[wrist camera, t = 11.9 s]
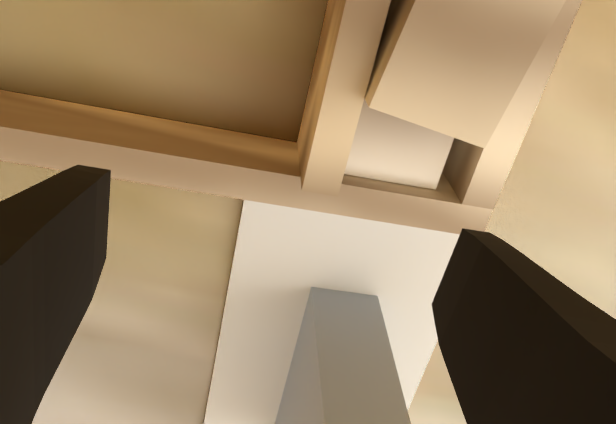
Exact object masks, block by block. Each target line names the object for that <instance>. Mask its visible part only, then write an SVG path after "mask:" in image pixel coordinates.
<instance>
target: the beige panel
mask: <svg viewBox="0 0 616 424" xmlns="http://www.w3.org/2000/svg"><path fill="white" fill-rule="evenodd" d="M459 235H460V234H454V233H448V232H442V231H436V230H429V229H423V228H417V227H411V226H404V225H398V224H392V223H386V222H379V221H373V220H367V219H361V218H354V217H348V216H342V215H336V214H329V213H323V212H317V211H311V210H304V209H298V208H292V207H286V206H279V205H273V204H267V203H261V202H254V201H248V200H244V201H243V207H242V212H241V218H240V223H239V229H238V235H237V240H236V246H235V251H234V257H233V262H232V268H231V274H230V279H229V285H228V290H227V296H226V301H225V307H224V312H223V318H222V324H221V329H220V335H219V340H218V346H217V351H216V357H215V362H214V368H213V374H212V379H211V385H210V390H209V396H208V401H207V407H206V413H205V418H204V424H275V421H276V417H277V413H278V410H279V406H280V402H281V398H282V395H283V391H284V387H285V383H286V380H287V376H288V372H289V368H290V365H291V361H292V357H293V353H294V350H295V346H296V342H297V338H298V335H299V331H300V327H301V323H302V320H303V316H304V312H305V308H306V305H307V301H308V297H309V293H310V290H311V287H317V288H324V289H331V290H339V291H346V292H353V293H360V294H367V295H375V296H378V299H379V303H380V307H381V311H382V315H383V318H384V322H385V326H386V330H387V334H388V338H389V342H390V345H391V349H392V353H393V357H394V361H395V365H396V369H397V372H398V376H399V380H400V384H401V388H402V392H403V396H404V399H405V403H406V407H407V411H408V409H409V407H410V404H411V402H412V400H413V397H414V395H415V392H416V390H417V388H418V385H419V383H420V381H421V378H422V376H423V374H424V371H425V369H426V366H427V364H428V362H429V359H430V357H431V355H432V352H433V350H434V348H435V345H436V343H437V340H438V337H437V332H436V327H435V322H434V316H433V310H432V302H433V299H434V297H435V294H436V292H437V289H438V287H439V285H440V282H441V280H442V277H443V275H444V272H445V270H446V267H447V265H448V262H449V260H450V257H451V255H452V253H453V250H454V248H455V245H456V243H457V240H458V238H459Z"/></svg>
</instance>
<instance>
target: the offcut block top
mask: <svg viewBox="0 0 616 424" xmlns="http://www.w3.org/2000/svg"><path fill="white" fill-rule="evenodd" d="M565 1H566V0H391V2H390V5H389V9H388V13H387V17H386V20H385V24H384V28H383V31H382V35H381V39H380V42H379V46H378V50H377V54H376V57H375V61H374V65H373V68H372V72H371V76H370V80H369V83H368V87H367V91H366V94H365V98H364V99H365V101H366V103H367V105H368V107H369V108H372V109H375V110H377V111H380V112H383V113H386V114H389V115H392V116H394V117H397V118H400V119H403V120H406V121H408V122H411V123H414V124H417V125H420V126H423V127H425V128H428V129H431V130H434V131H437V132H439V133H442V134H445V135H448V136H451V137H454V138H456V139H459V140H462V141H465V142H468V143H470V144H473V145H476V146H479V147H482V148H485V147H486V145H487V143H488V141H489V140H490V138H491V136H492V134H493V132H494V131H495V129H496V127H497V125H498V123H499V121H500V120H501V118H502V116H503V114H504V112H505V110H506V109H507V107H508V105H509V103H510V101H511V100H512V98H513V96H514V94H515V92H516V90H517V89H518V87H519V85H520V83H521V81H522V80H523V78H524V76H525V74H526V72H527V70H528V69H529V67H530V65H531V63H532V61H533V59H534V58H535V56H536V54H537V52H538V50H539V49H540V47H541V45H542V43H543V41H544V39H545V38H546V36H547V34H548V32H549V30H550V28H551V27H552V25H553V23H554V21H555V19H556V18H557V16H558V14H559V12H560V10H561V8H562V7H563V5H564V3H565Z"/></svg>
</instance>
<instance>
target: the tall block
mask: <svg viewBox="0 0 616 424" xmlns="http://www.w3.org/2000/svg"><path fill="white" fill-rule="evenodd" d="M275 424H411V423H410V419H409V415H408V411H407V407H406V403H405V399H404V396H403V392H402V388H401V384H400V380H399V376H398V372H397V369H396V365H395V361H394V357H393V353H392V349H391V345H390V342H389V338H388V334H387V330H386V326H385V322H384V318H383V315H382V311H381V307H380V303H379V299H378V296H375V295H367V294H360V293H353V292H346V291H339V290H331V289H324V288H317V287H311V290H310V293H309V297H308V301H307V305H306V308H305V312H304V316H303V320H302V323H301V327H300V331H299V335H298V338H297V342H296V346H295V350H294V353H293V357H292V361H291V365H290V368H289V372H288V376H287V380H286V383H285V387H284V391H283V395H282V398H281V402H280V406H279V410H278V413H277V417H276V421H275Z"/></svg>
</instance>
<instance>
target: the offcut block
mask: <svg viewBox="0 0 616 424" xmlns="http://www.w3.org/2000/svg"><path fill="white" fill-rule="evenodd" d="M453 140H454V137H451V136H448V135H445V134H442V133H439V132H437V131H434V130H431V129H428V128H425V127H423V126H420V125H417V124H414V123H411V122H408V121H406V120H403V119H400V118H397V117H394V116H392V115H389V114H386V113H383V112H380V111H377V110H375V109H372V108H369V107H368V105H367V103H366V101H365V99H364V102H363V106H362V109H361V113H360V117H359V120H358V124H357V128H356V131H355V135H354V139H353V143H352V146H351V150H350V154H349V157H348V161H347V165H346V169H345V172H344V174H346V175H352V176H358V177H364V178H370V179H375V180H381V181H387V182H393V183H399V184H405V185H411V186H416V187H422V188H428V189H434V190H436V188H437V185H438V182H439V179H440V176H441V174H442V171H443V168H444V165H445V162H446V160H447V157H448V154H449V151H450V149H451V146H452V143H453Z"/></svg>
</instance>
